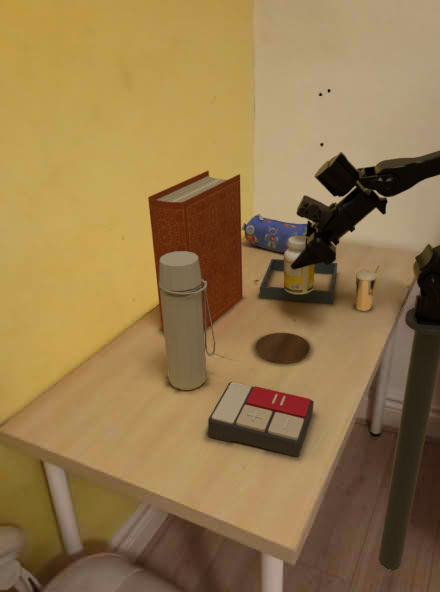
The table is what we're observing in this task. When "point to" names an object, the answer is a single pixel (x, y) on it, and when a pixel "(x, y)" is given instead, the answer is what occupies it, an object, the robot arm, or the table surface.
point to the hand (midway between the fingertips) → (292, 261)
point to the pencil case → (271, 233)
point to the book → (202, 235)
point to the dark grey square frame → (308, 297)
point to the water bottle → (184, 319)
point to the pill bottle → (301, 277)
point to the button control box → (261, 418)
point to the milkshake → (365, 288)
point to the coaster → (282, 348)
